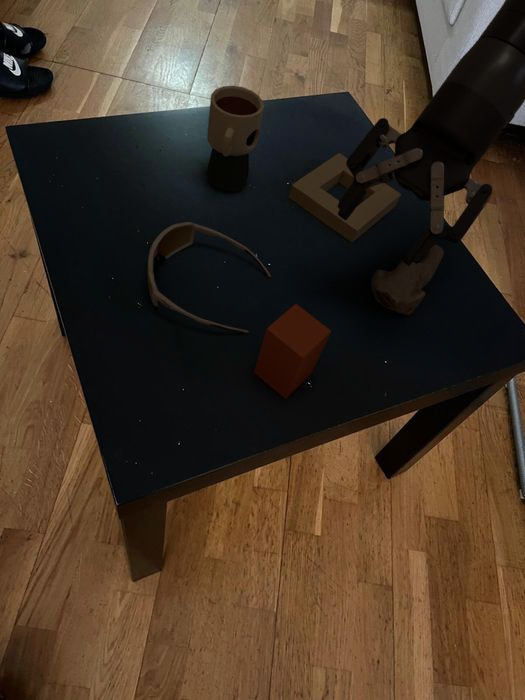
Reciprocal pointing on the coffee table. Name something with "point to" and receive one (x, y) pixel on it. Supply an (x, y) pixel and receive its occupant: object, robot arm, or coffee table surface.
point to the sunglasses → (174, 242)
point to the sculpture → (406, 282)
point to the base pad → (325, 207)
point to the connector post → (290, 350)
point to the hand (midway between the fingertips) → (373, 240)
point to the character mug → (232, 135)
